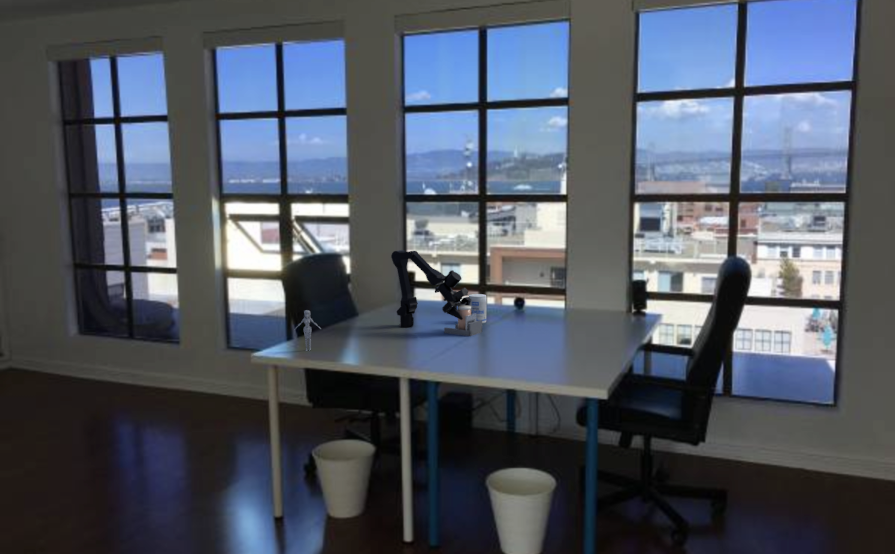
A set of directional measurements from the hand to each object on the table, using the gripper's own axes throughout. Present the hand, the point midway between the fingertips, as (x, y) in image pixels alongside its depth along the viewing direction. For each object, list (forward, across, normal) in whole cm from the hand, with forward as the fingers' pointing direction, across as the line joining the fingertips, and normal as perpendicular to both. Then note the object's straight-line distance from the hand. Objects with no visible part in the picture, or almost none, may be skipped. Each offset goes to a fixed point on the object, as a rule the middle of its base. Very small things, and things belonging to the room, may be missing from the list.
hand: (467, 317), depth 345 cm
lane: (+4, 0, +7) cm, 8 cm away
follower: (+7, 0, +5) cm, 8 cm away
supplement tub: (-2, +27, +13) cm, 30 cm away
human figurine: (-24, -65, +36) cm, 78 cm away
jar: (+4, 0, +6) cm, 8 cm away
